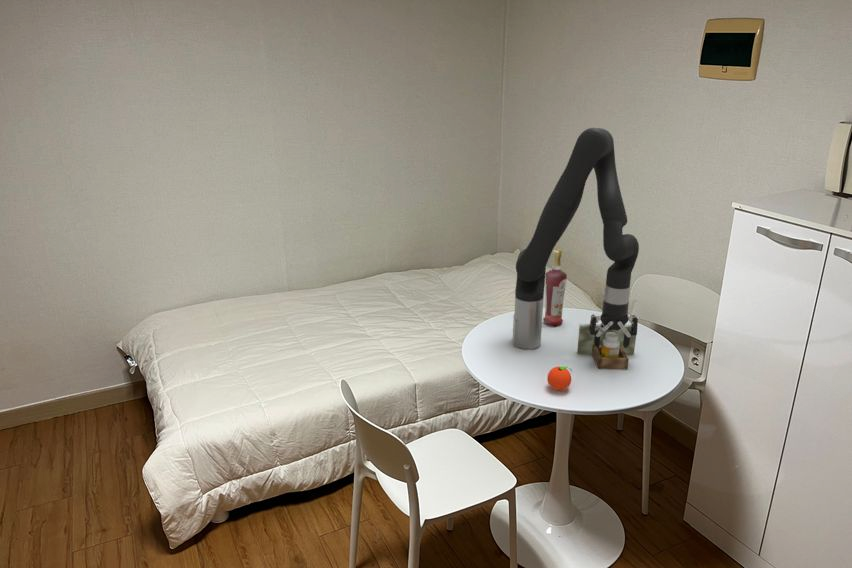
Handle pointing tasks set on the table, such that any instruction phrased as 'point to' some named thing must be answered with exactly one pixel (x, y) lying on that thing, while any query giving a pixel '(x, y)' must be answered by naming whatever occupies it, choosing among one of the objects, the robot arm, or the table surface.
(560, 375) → the clementine
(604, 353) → the supplement bottle
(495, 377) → the table surface
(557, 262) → the liquor
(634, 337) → the board
